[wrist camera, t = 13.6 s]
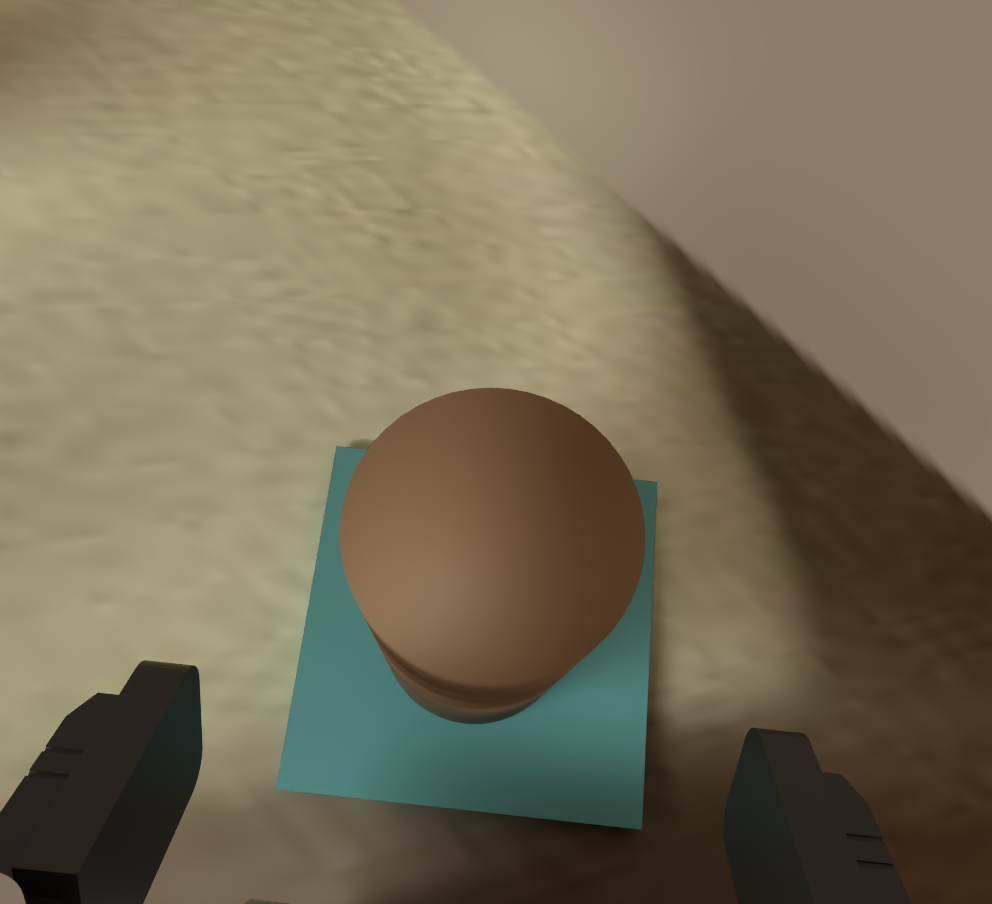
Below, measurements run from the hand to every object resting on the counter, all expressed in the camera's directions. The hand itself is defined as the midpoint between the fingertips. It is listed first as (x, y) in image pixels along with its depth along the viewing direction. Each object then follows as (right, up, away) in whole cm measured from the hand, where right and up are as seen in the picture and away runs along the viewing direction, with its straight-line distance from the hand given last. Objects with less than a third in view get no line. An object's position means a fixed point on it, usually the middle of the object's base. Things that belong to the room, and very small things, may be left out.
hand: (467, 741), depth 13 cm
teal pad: (0, -1, +11) cm, 11 cm away
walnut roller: (0, 0, +10) cm, 10 cm away
